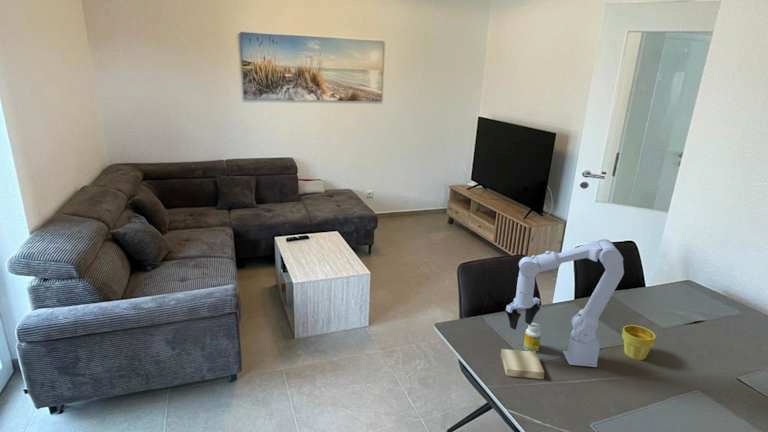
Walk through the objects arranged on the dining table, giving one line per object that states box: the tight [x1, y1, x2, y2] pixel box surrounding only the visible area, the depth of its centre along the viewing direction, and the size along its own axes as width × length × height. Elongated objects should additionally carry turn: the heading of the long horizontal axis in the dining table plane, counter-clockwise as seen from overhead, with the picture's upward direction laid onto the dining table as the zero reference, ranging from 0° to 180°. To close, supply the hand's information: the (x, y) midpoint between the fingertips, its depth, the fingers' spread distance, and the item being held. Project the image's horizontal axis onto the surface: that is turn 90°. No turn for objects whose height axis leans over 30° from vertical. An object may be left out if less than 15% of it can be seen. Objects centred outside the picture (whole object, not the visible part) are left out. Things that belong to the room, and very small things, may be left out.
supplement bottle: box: [523, 322, 542, 353], centre depth 162 cm, size 5×5×10 cm
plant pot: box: [621, 324, 657, 361], centre depth 160 cm, size 10×10×10 cm
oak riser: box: [500, 348, 545, 380], centre depth 152 cm, size 12×12×3 cm
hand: (520, 325), depth 159 cm, fingers open, 7 cm apart
